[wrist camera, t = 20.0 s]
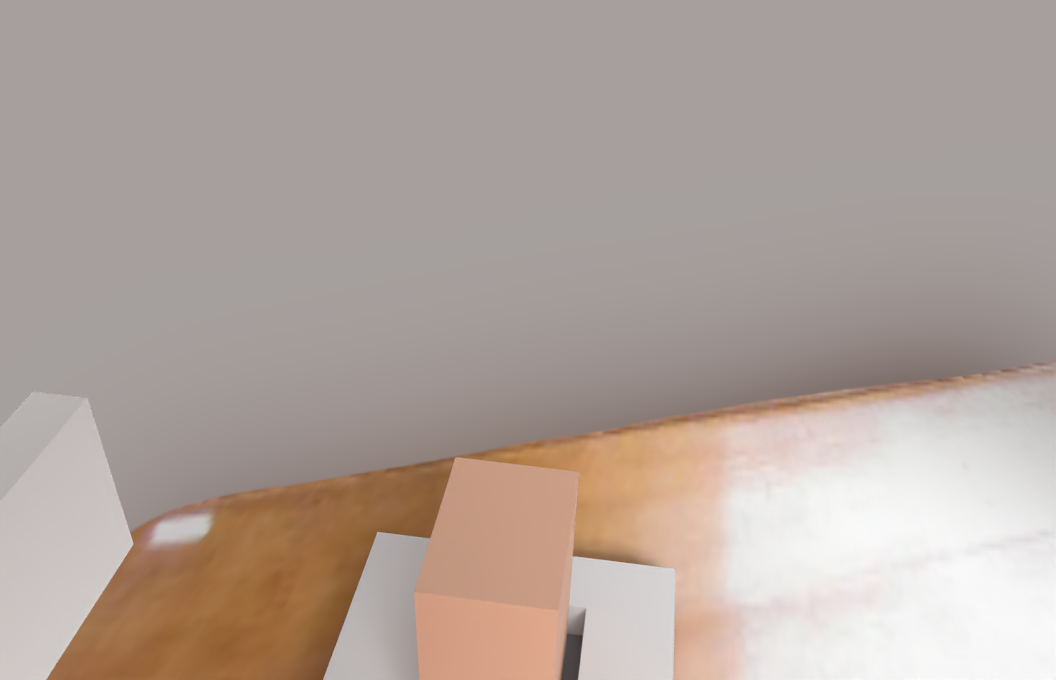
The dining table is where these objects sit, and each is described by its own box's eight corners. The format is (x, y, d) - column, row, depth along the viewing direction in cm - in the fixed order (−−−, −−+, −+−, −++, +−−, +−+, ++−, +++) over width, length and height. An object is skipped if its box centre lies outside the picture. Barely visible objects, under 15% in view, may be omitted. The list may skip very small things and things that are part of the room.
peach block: (565, 648, 45) (579, 471, 38) (546, 791, 39) (558, 611, 33) (459, 634, 45) (455, 456, 39) (424, 773, 39) (413, 591, 33)
